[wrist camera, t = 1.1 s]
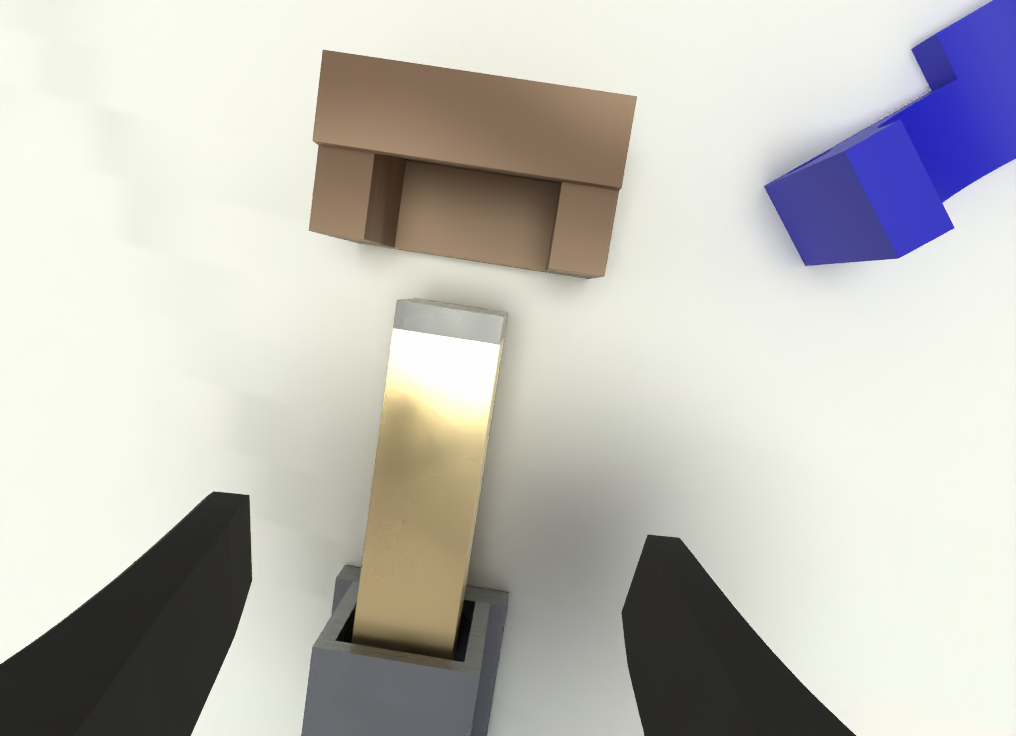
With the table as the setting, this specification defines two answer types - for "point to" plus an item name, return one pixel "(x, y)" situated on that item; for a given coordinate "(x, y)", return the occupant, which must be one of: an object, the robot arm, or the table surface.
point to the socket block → (468, 164)
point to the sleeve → (403, 675)
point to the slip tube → (428, 476)
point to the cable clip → (911, 151)
